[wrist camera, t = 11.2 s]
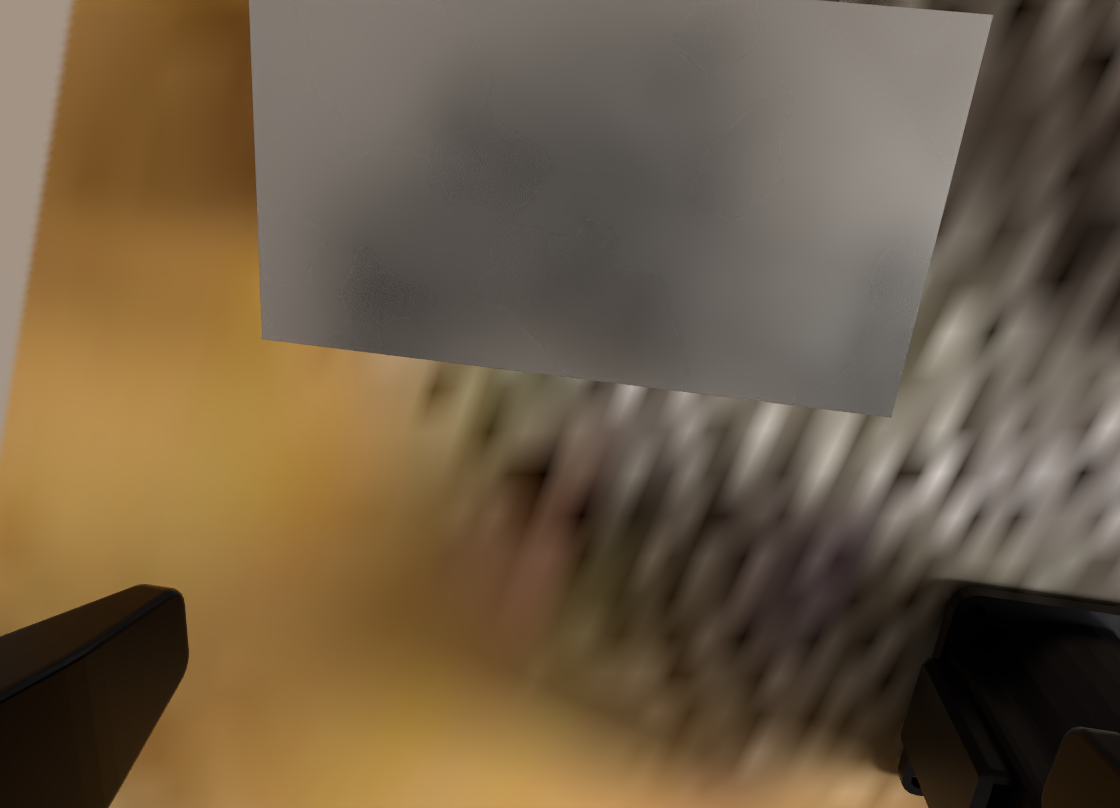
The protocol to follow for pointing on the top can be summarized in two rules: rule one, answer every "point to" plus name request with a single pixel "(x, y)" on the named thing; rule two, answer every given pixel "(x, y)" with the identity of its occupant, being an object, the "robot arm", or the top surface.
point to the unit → (611, 185)
